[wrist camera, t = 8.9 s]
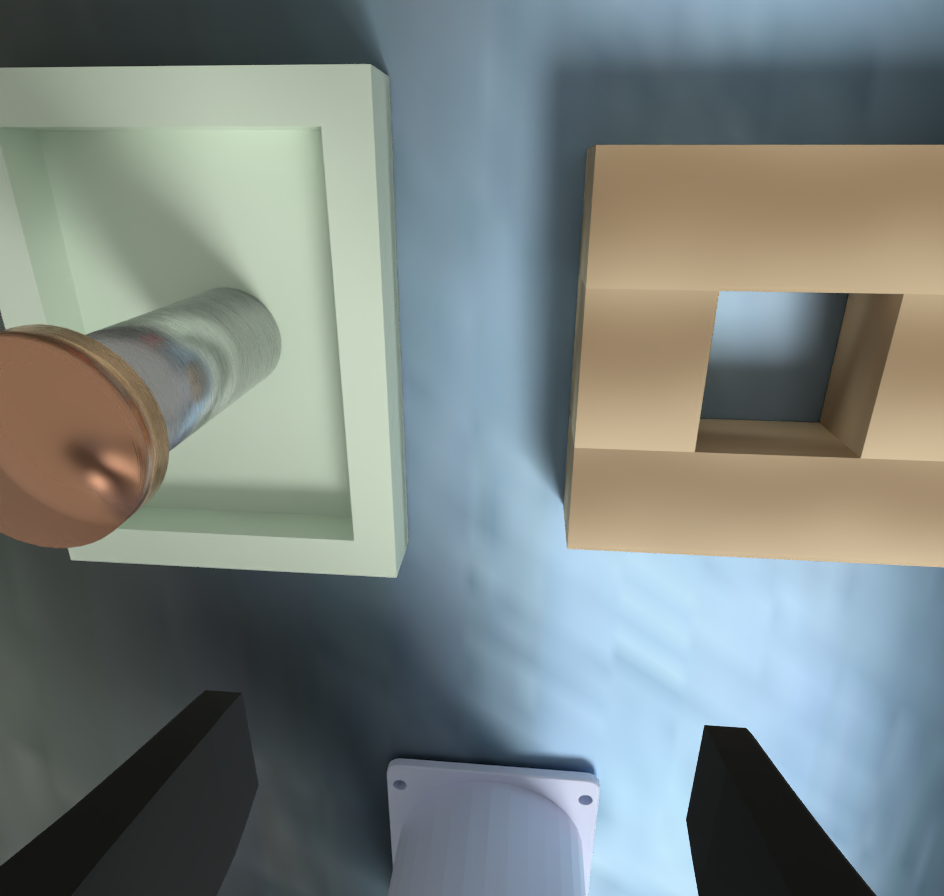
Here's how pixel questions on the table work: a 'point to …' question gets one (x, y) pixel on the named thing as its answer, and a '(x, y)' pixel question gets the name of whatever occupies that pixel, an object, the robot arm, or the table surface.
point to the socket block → (689, 341)
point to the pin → (117, 408)
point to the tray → (232, 266)
